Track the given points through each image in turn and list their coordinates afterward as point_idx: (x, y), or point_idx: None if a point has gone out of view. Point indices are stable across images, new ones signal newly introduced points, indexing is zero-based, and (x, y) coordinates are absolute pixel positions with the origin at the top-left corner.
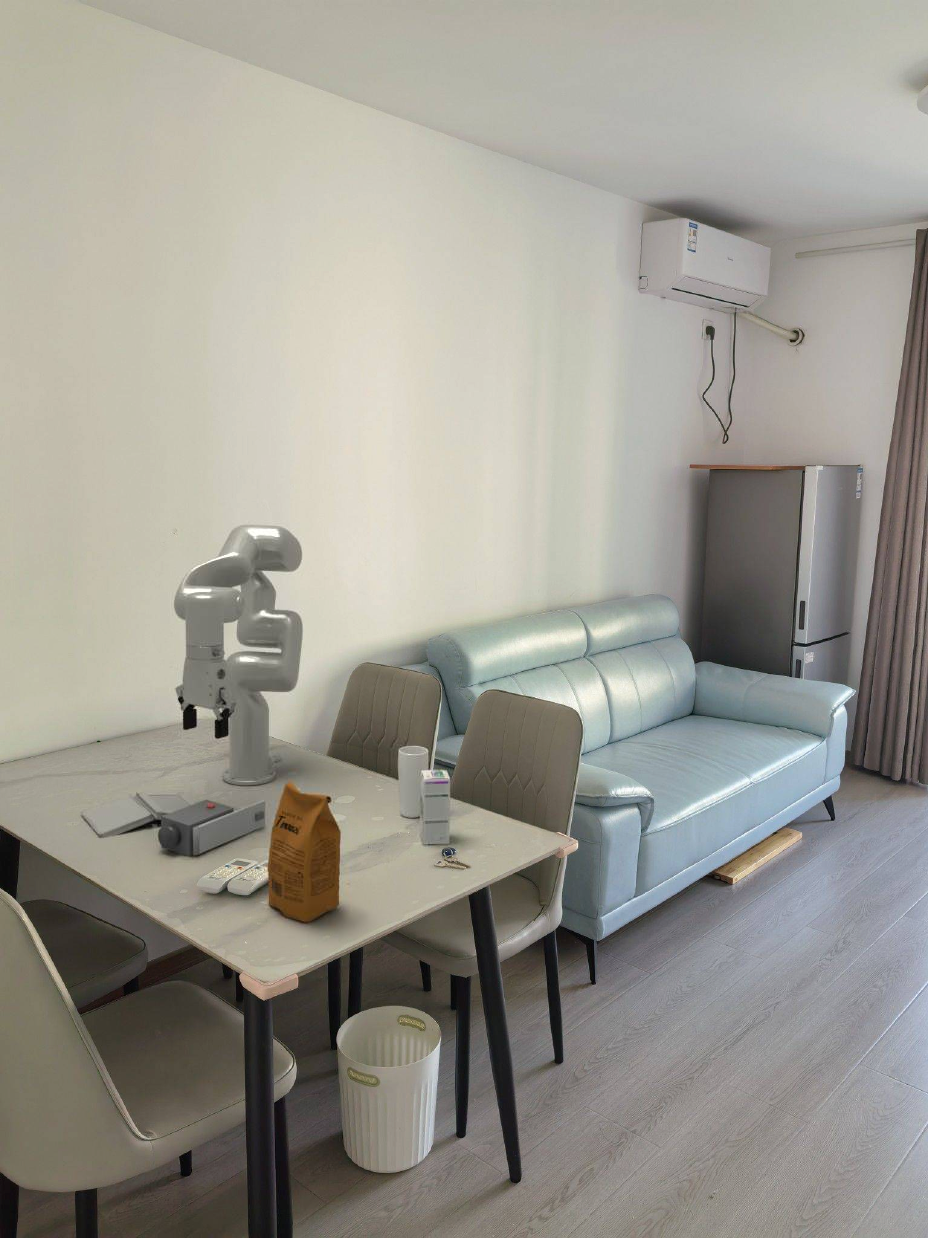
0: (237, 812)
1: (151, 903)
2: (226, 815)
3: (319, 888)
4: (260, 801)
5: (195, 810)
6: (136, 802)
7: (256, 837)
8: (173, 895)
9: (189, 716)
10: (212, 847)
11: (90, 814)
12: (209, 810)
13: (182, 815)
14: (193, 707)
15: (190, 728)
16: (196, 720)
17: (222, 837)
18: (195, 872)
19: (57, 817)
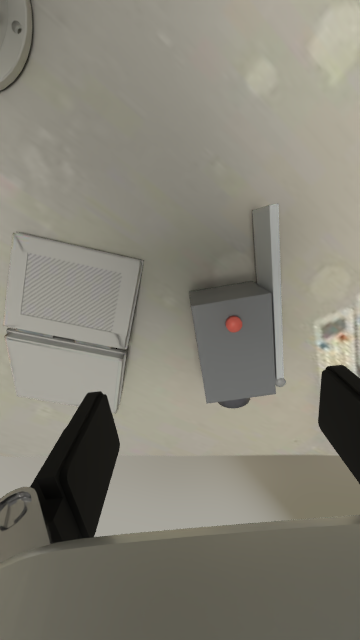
0: (280, 290)
1: (324, 449)
2: (278, 316)
3: None
4: (273, 215)
5: (226, 352)
6: (52, 348)
7: (280, 251)
8: None
9: (96, 488)
10: None
11: (36, 394)
12: (246, 334)
13: (230, 379)
14: (54, 517)
15: (113, 423)
16: (93, 416)
17: None
18: (303, 383)
19: (9, 414)
